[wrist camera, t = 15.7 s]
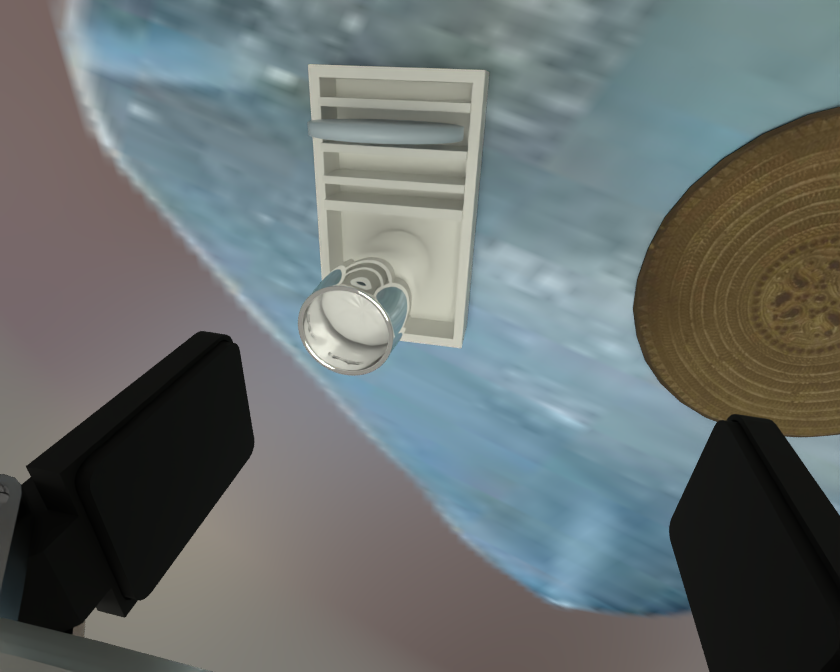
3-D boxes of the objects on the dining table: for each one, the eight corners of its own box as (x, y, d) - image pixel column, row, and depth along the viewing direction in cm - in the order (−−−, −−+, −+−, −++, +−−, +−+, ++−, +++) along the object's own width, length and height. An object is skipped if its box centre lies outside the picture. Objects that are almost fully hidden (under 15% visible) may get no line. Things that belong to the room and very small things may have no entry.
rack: (330, 67, 39) (257, 57, 28) (489, 72, 37) (475, 64, 26) (341, 312, 49) (291, 371, 38) (466, 326, 47) (449, 394, 36)
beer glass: (382, 210, 42) (317, 262, 29) (448, 250, 43) (415, 319, 29) (350, 272, 45) (280, 345, 32) (413, 309, 46) (368, 395, 33)
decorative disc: (688, 93, 33) (1249, 104, 27) (677, 93, 36) (1183, 104, 30) (606, 420, 47) (975, 477, 40) (603, 401, 49) (946, 451, 43)
